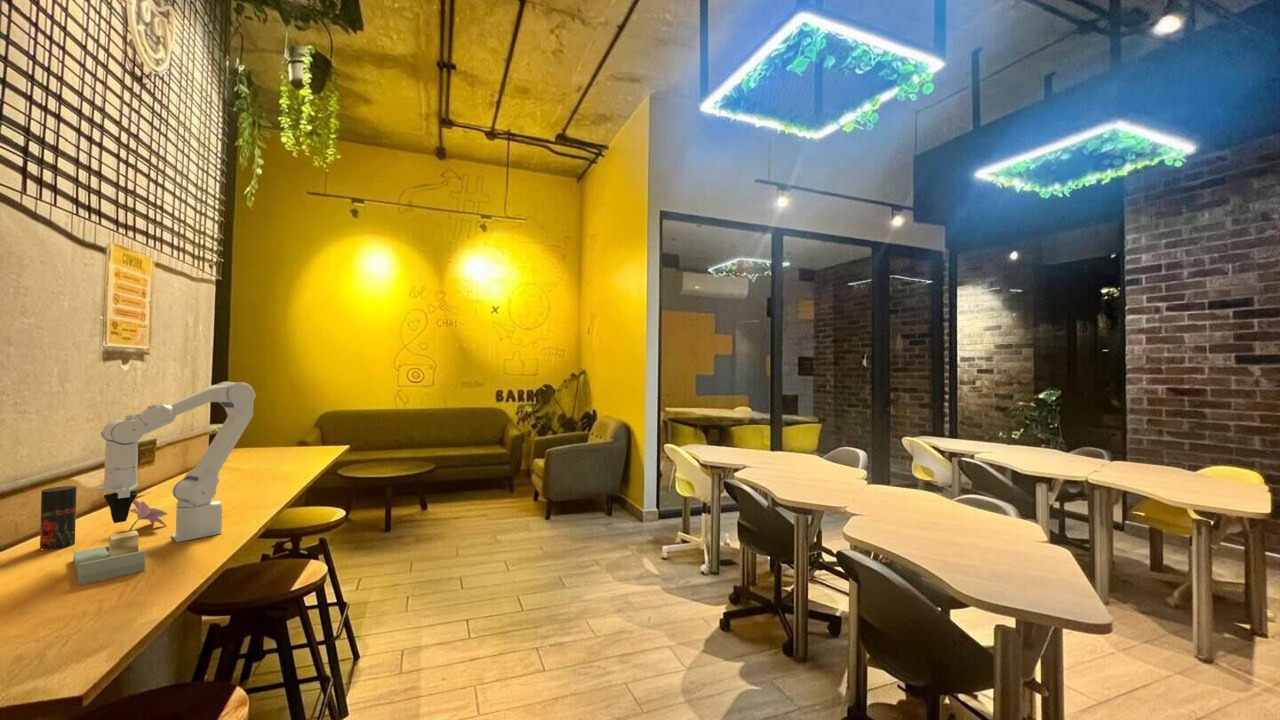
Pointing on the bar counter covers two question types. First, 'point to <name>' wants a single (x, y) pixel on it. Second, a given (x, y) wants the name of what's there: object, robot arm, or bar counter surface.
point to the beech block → (123, 543)
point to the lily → (147, 513)
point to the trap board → (106, 564)
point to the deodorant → (58, 517)
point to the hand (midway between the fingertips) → (119, 521)
